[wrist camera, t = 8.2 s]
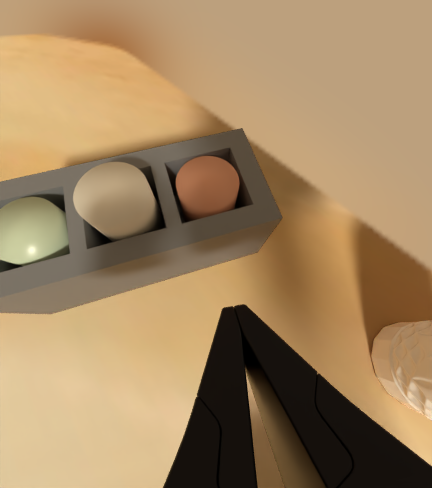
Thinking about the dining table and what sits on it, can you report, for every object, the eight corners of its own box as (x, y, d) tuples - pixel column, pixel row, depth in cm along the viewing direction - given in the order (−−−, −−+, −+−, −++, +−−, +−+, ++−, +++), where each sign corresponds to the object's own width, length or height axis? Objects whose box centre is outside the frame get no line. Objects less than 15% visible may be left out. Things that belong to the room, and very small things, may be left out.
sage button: (98, 266, 17) (63, 250, 13) (41, 282, 17) (-16, 271, 13) (91, 218, 19) (57, 189, 14) (38, 232, 18) (-15, 206, 14)
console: (257, 252, 22) (282, 217, 14) (50, 314, 20) (-50, 311, 12) (232, 187, 24) (242, 128, 17) (45, 234, 22) (-42, 191, 14)
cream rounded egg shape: (169, 240, 17) (155, 214, 13) (111, 256, 16) (77, 234, 12) (157, 193, 18) (140, 154, 14) (103, 206, 18) (69, 170, 13)
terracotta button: (239, 227, 19) (248, 200, 15) (190, 240, 18) (185, 217, 14) (223, 185, 20) (227, 150, 16) (177, 197, 20) (169, 163, 15)
